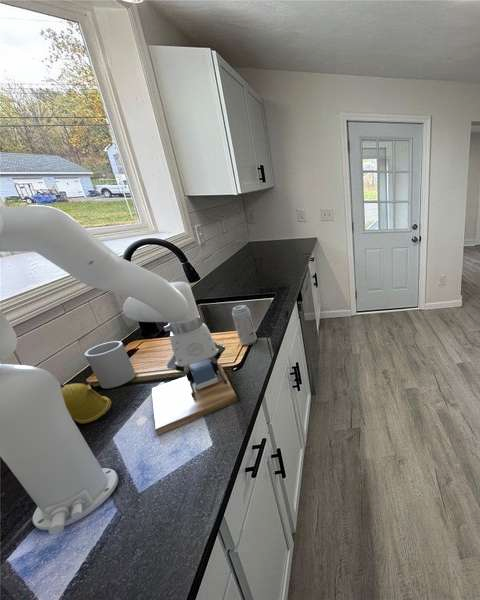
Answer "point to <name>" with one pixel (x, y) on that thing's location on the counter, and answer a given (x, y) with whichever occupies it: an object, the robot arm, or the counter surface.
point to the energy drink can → (244, 325)
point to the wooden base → (189, 401)
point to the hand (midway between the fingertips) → (204, 376)
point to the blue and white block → (203, 373)
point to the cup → (110, 364)
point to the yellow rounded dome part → (84, 402)
